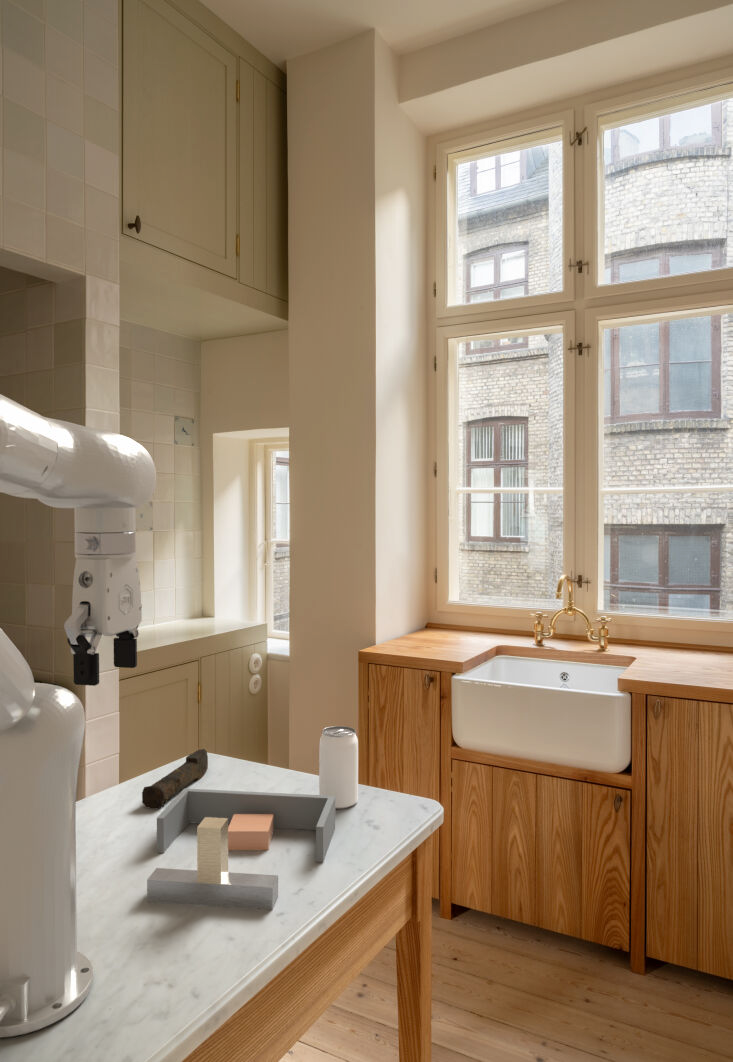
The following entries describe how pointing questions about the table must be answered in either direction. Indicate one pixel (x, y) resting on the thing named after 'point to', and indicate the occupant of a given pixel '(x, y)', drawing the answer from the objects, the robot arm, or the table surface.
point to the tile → (250, 831)
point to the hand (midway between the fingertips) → (106, 675)
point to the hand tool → (176, 780)
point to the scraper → (213, 877)
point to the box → (224, 804)
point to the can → (339, 765)
